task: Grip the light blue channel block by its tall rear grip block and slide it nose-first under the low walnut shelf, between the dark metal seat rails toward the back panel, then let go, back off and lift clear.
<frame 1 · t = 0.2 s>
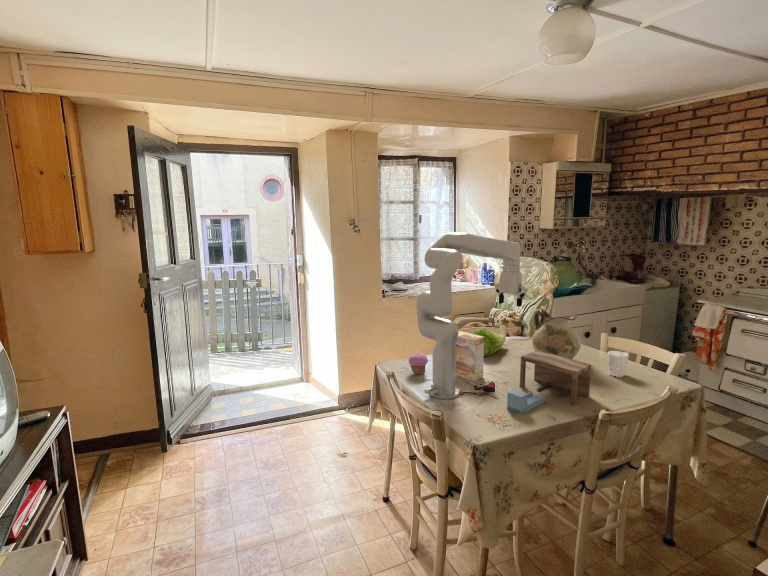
hand: (510, 304, 196), 31 cm above the table, tool pointing down, fingers open, 9 cm apart
cupcake: (418, 374, 196), on the table
pitcher: (553, 361, 209), on the table
lettuce: (490, 352, 225), on the table
coffeecake box: (465, 375, 193), on the table
shelf: (553, 391, 173), on the table
light blue channel block: (526, 405, 161), on the table
white cup: (616, 374, 190), on the table
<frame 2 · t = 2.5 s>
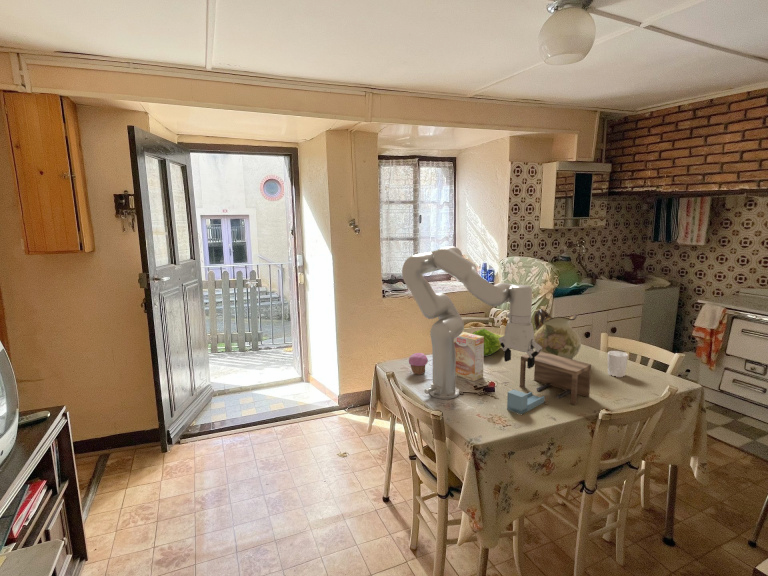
hand: (518, 364, 154), 18 cm above the table, tool pointing down, fingers open, 9 cm apart
nothing on the table moved.
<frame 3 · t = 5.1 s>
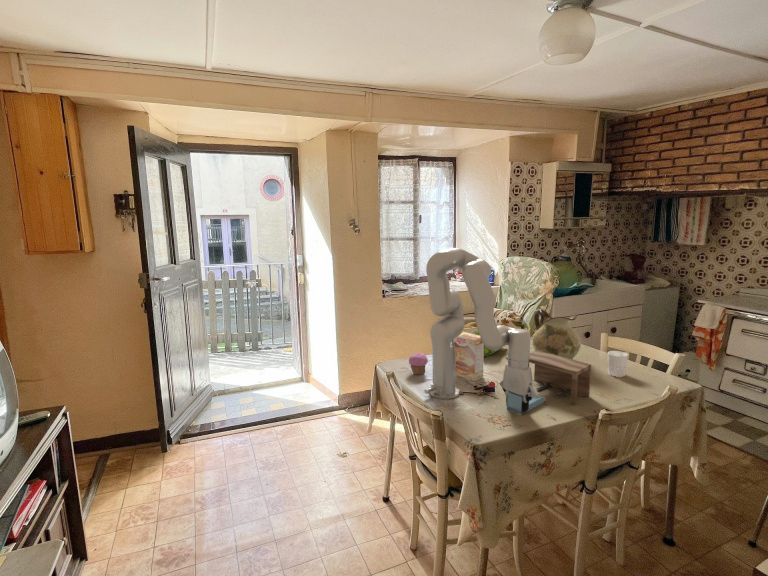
hand: (517, 407, 157), 1 cm above the table, tool pointing down, fingers closed on light blue channel block, 6 cm apart
light blue channel block: (526, 405, 161), on the table, touching gripper
everything else where it was.
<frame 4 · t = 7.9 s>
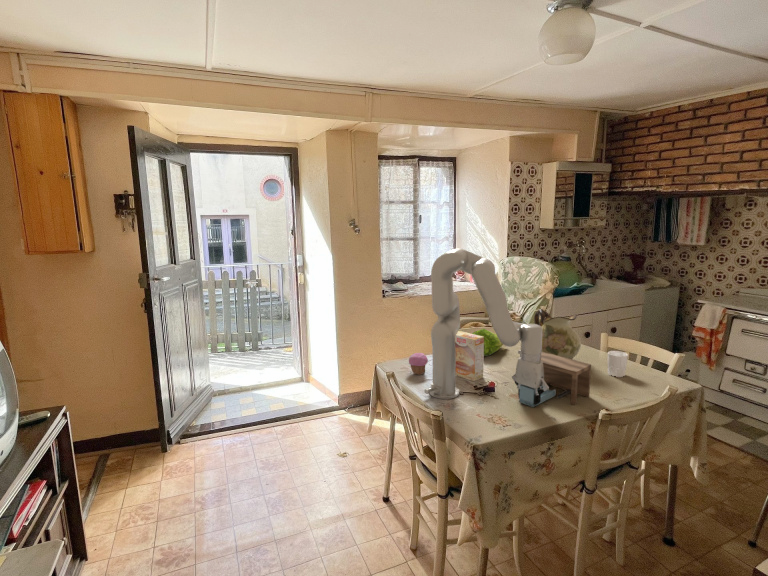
hand: (529, 400, 162), 2 cm above the table, tool pointing down, fingers closed on light blue channel block, 6 cm apart
light blue channel block: (537, 398, 166), on the table, touching gripper
everything else where it was.
when the fingers open (1 cm above the table, at t = 10.9 s): light blue channel block stays where it is, on the table.
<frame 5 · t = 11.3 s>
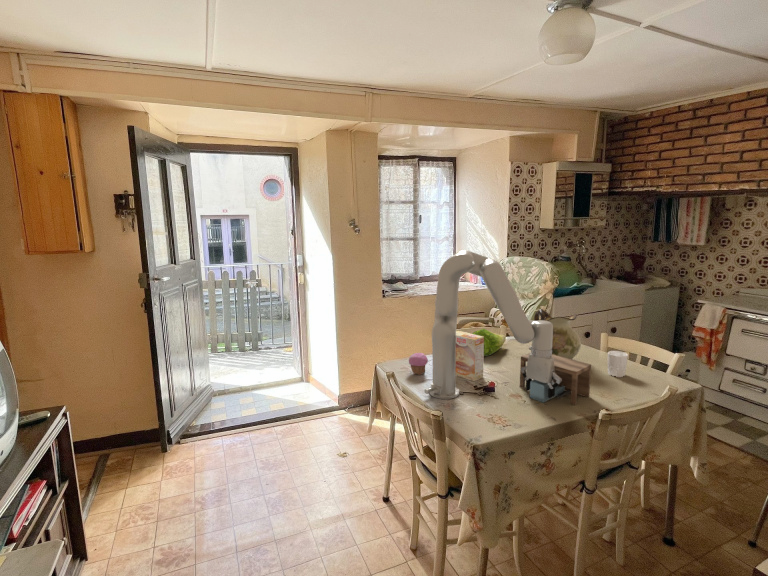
hand: (539, 393, 166), 2 cm above the table, tool pointing down, fingers open, 9 cm apart
light blue channel block: (547, 394, 170), on the table
everything else where it was.
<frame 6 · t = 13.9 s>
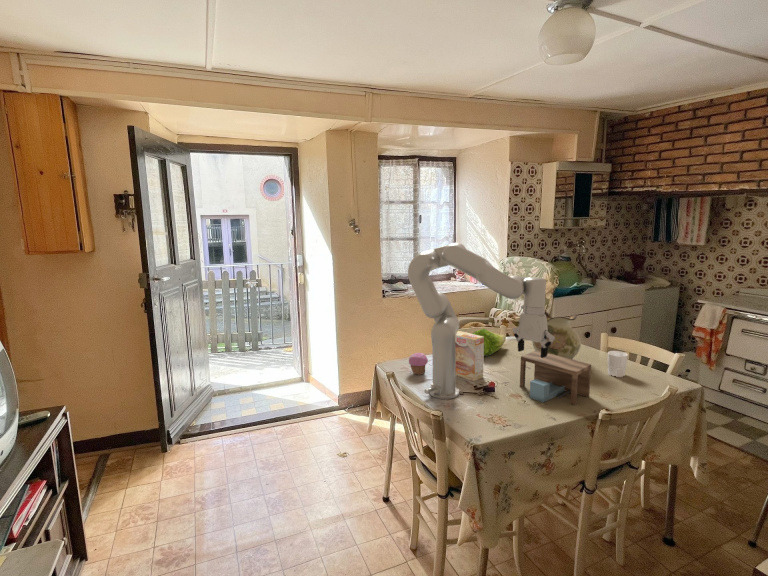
hand: (532, 353, 159), 20 cm above the table, tool pointing down, fingers open, 9 cm apart
nothing on the table moved.
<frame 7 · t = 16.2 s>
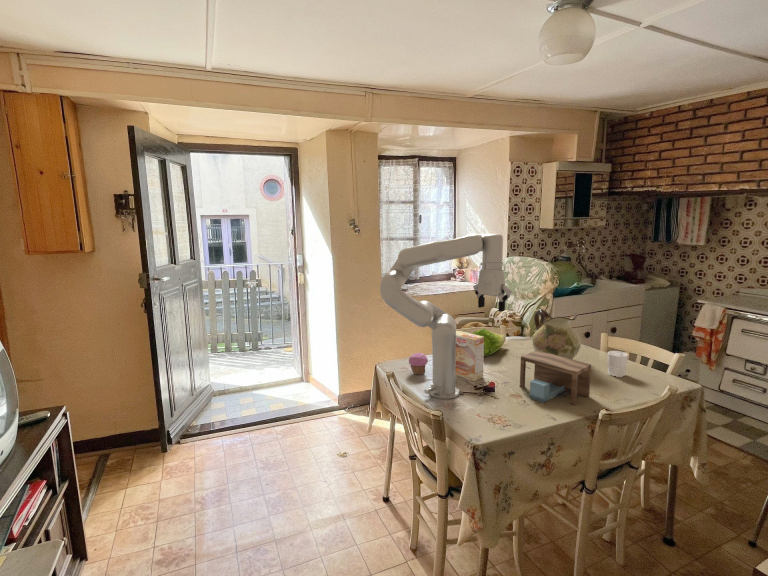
hand: (491, 309, 164), 36 cm above the table, tool pointing down, fingers open, 9 cm apart
nothing on the table moved.
at the end: light blue channel block 0.1 cm from the target spot on the shelf, point 0.0 cm above the shelf's base; light blue channel block moved 15.4 cm from its start; the gripper is holding nothing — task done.
